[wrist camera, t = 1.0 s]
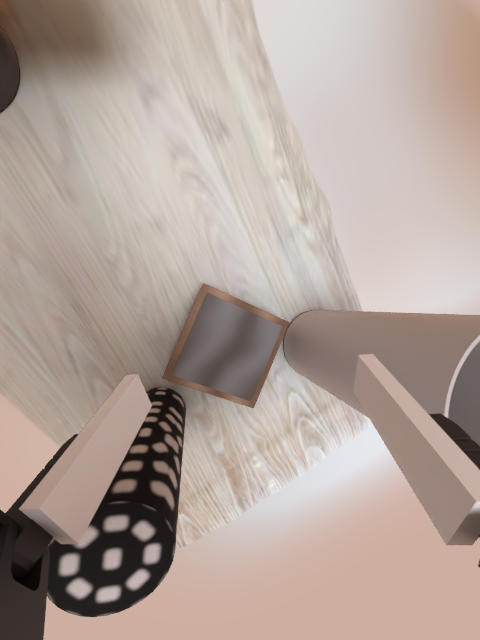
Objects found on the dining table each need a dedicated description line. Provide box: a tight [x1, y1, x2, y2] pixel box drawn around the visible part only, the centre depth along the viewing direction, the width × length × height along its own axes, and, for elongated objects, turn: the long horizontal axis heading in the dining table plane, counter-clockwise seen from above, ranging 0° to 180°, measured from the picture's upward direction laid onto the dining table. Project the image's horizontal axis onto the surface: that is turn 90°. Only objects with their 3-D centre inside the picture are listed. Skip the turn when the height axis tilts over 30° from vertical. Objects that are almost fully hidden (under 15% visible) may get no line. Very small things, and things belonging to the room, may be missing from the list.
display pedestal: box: [162, 283, 289, 408], centre depth 32 cm, size 14×14×6 cm
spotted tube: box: [47, 388, 186, 617], centre depth 24 cm, size 8×8×20 cm
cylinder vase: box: [284, 310, 480, 446], centre depth 27 cm, size 12×12×25 cm
